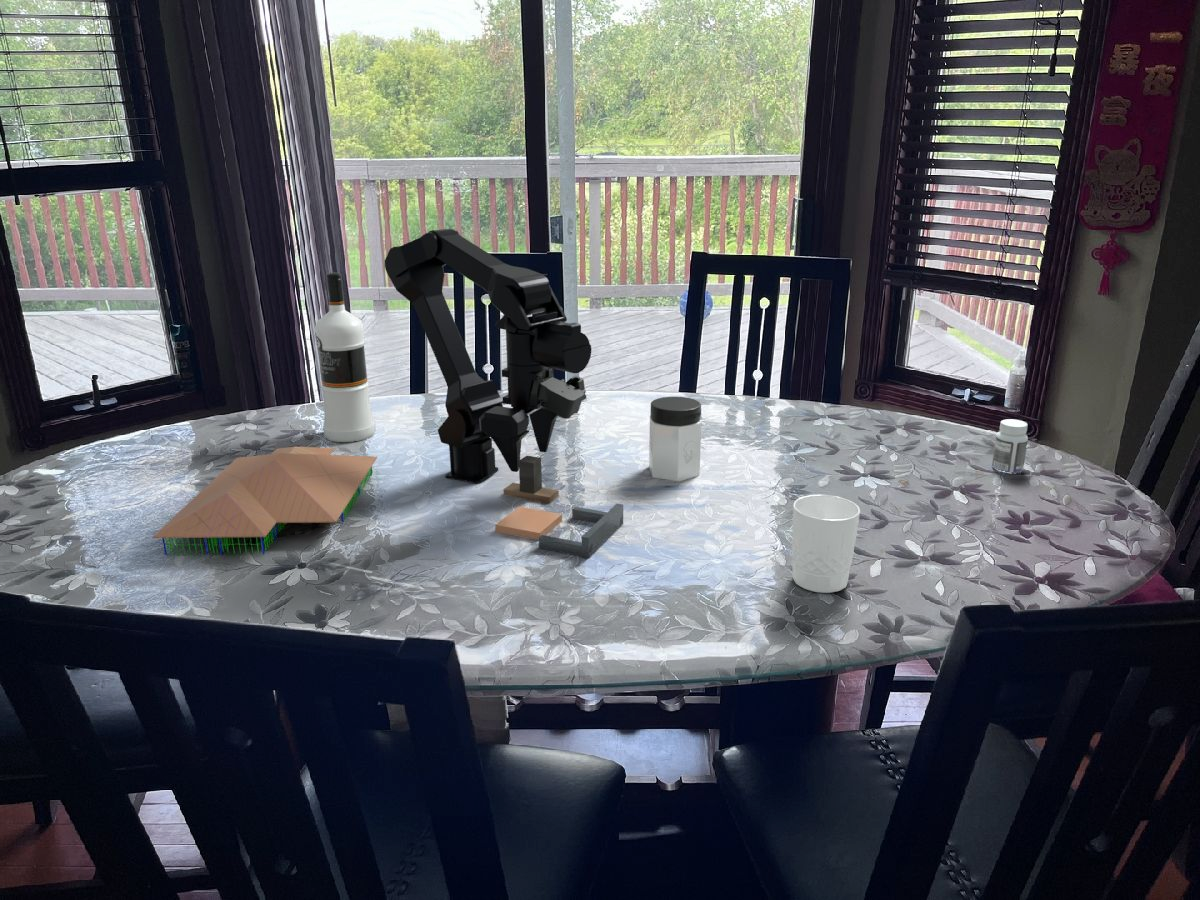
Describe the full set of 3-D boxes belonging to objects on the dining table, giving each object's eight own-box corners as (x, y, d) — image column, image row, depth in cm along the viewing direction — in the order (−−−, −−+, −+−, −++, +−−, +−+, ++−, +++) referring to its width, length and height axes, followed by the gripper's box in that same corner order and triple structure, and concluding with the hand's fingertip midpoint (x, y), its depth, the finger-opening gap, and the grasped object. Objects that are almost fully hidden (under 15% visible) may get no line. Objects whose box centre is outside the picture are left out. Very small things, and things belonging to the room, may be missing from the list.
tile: (495, 535, 125) (495, 524, 125) (519, 516, 131) (519, 506, 131) (539, 543, 123) (539, 533, 122) (562, 524, 129) (562, 514, 128)
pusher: (550, 504, 134) (549, 466, 132) (503, 496, 138) (502, 458, 135) (558, 497, 137) (558, 459, 135) (513, 489, 140) (511, 452, 138)
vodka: (380, 440, 162) (364, 274, 152) (327, 447, 159) (308, 278, 148) (371, 426, 170) (356, 267, 160) (321, 432, 167) (302, 270, 156)
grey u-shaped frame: (538, 548, 120) (537, 528, 119) (575, 515, 130) (575, 496, 129) (588, 558, 117) (588, 537, 116) (623, 523, 127) (623, 504, 126)
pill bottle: (1016, 466, 148) (1024, 418, 145) (1026, 477, 144) (1035, 427, 141) (987, 465, 149) (994, 417, 146) (996, 476, 144) (1003, 426, 141)
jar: (667, 486, 141) (669, 414, 137) (637, 470, 147) (638, 401, 143) (710, 474, 145) (713, 404, 141) (680, 460, 152) (682, 393, 148)
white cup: (780, 567, 115) (785, 495, 111) (840, 564, 115) (846, 493, 112) (798, 597, 107) (804, 521, 104) (862, 594, 108) (870, 518, 104)
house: (382, 469, 150) (378, 423, 147) (329, 557, 119) (322, 501, 116) (245, 470, 149) (239, 424, 147) (156, 559, 118) (145, 503, 116)
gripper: (546, 383, 119) (549, 491, 124) (602, 352, 135) (602, 449, 140) (474, 374, 123) (480, 479, 129) (537, 346, 139) (539, 440, 145)
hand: (529, 461), depth 135 cm, fingers open, 9 cm apart
